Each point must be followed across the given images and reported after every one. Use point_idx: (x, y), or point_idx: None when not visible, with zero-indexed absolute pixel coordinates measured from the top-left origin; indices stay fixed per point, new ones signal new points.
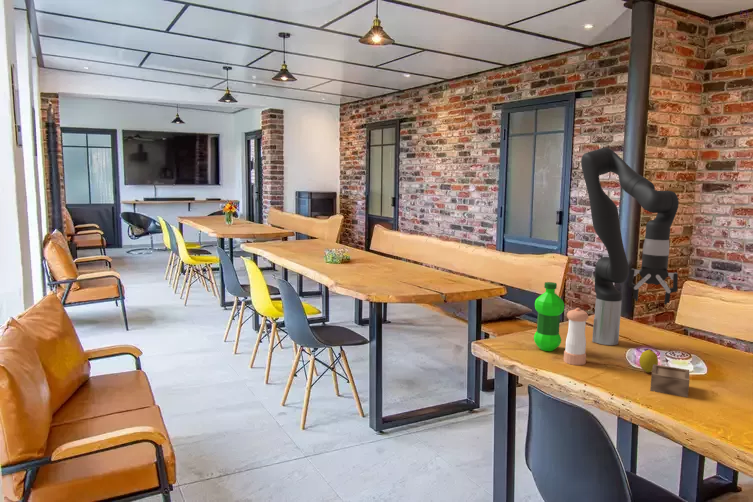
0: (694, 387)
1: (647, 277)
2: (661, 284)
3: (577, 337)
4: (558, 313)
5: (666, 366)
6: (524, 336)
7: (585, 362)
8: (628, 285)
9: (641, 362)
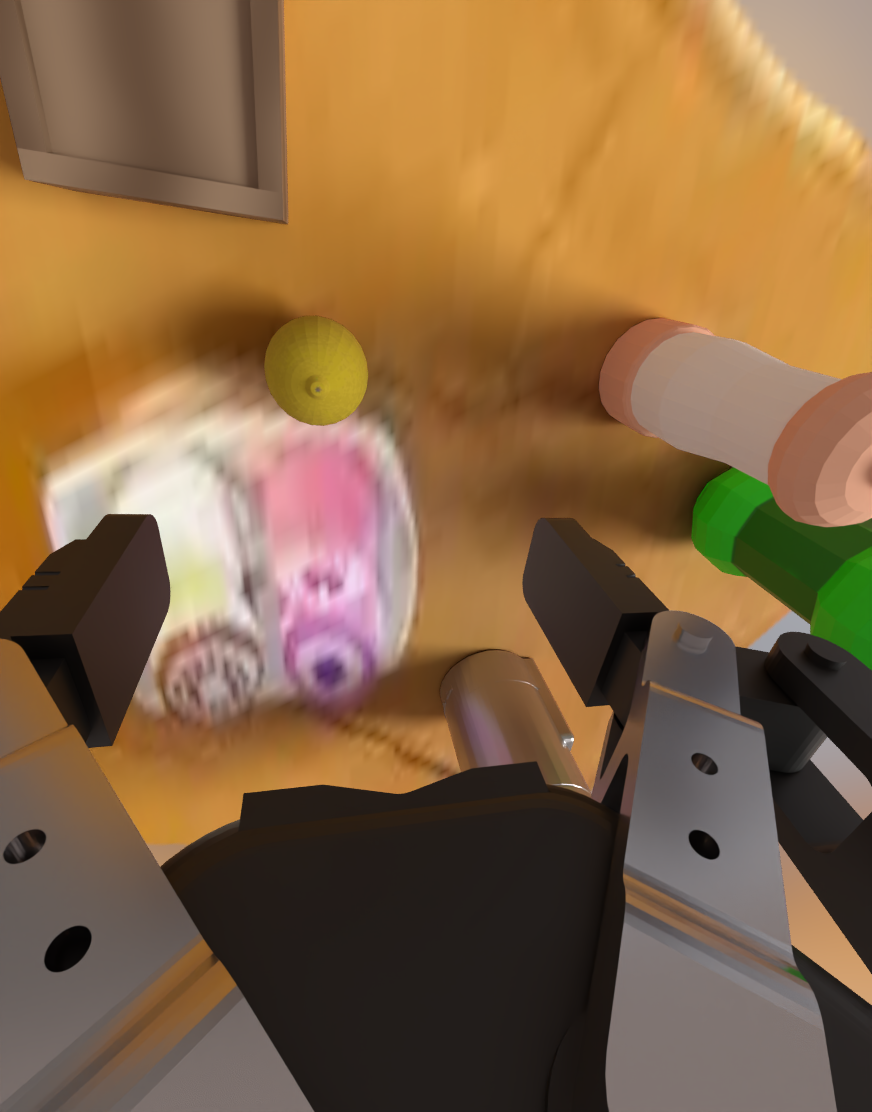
0: (33, 186)
1: (701, 966)
2: (97, 796)
3: (751, 357)
4: (863, 559)
5: (192, 200)
6: (764, 604)
7: (604, 368)
8: (843, 650)
9: (355, 338)
